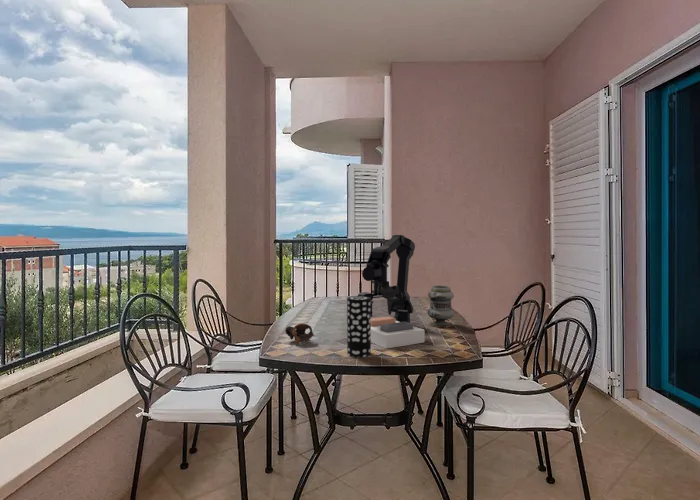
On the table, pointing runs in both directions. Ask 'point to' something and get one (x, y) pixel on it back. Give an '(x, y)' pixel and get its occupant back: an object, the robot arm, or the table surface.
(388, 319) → the salmon orange rectangular block
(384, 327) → the dark grey rectangular block
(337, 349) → the table surface
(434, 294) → the apothecary jar
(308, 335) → the brown toy animal
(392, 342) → the white tray
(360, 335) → the white-spotted black cylinder
